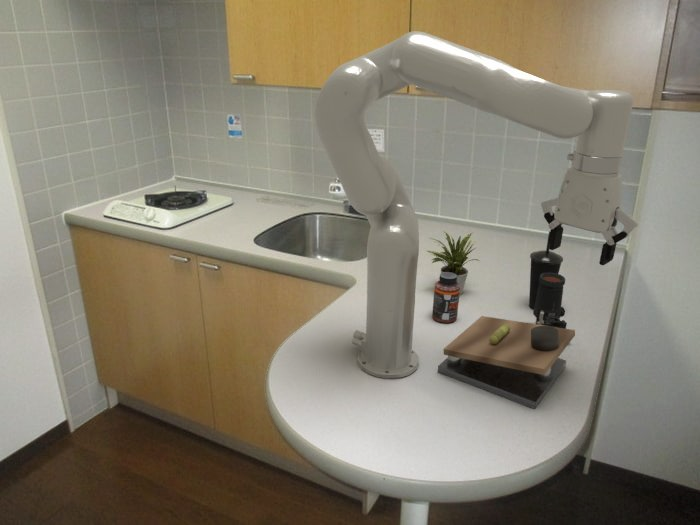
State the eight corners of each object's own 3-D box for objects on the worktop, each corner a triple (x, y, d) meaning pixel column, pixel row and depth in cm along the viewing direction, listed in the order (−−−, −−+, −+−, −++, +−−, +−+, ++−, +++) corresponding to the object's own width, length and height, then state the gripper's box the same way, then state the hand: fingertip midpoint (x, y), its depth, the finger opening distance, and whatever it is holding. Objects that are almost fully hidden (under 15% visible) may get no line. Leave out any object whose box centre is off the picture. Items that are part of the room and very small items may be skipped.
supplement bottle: (451, 326, 134) (455, 282, 130) (428, 320, 137) (431, 276, 133) (460, 316, 139) (464, 273, 135) (437, 310, 142) (441, 268, 138)
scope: (544, 288, 121) (527, 270, 130) (535, 346, 126) (520, 324, 136) (581, 288, 122) (563, 270, 131) (571, 345, 127) (554, 324, 136)
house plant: (441, 275, 162) (445, 219, 156) (487, 287, 155) (494, 230, 149) (416, 292, 152) (420, 233, 145) (465, 306, 144) (471, 245, 138)
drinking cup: (532, 297, 149) (543, 224, 142) (560, 307, 144) (573, 232, 137) (517, 306, 144) (527, 231, 137) (545, 317, 139) (557, 239, 132)
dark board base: (437, 372, 116) (439, 354, 115) (475, 337, 130) (477, 320, 128) (534, 409, 105) (537, 389, 104) (565, 366, 119) (568, 349, 117)
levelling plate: (443, 354, 114) (442, 335, 113) (481, 320, 127) (481, 303, 126) (544, 375, 102) (544, 353, 101) (574, 335, 115) (574, 316, 114)
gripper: (540, 158, 103) (526, 247, 110) (639, 176, 92) (617, 275, 98) (560, 153, 108) (545, 239, 114) (656, 170, 97) (634, 264, 103)
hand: (578, 255), depth 106 cm, fingers open, 9 cm apart
